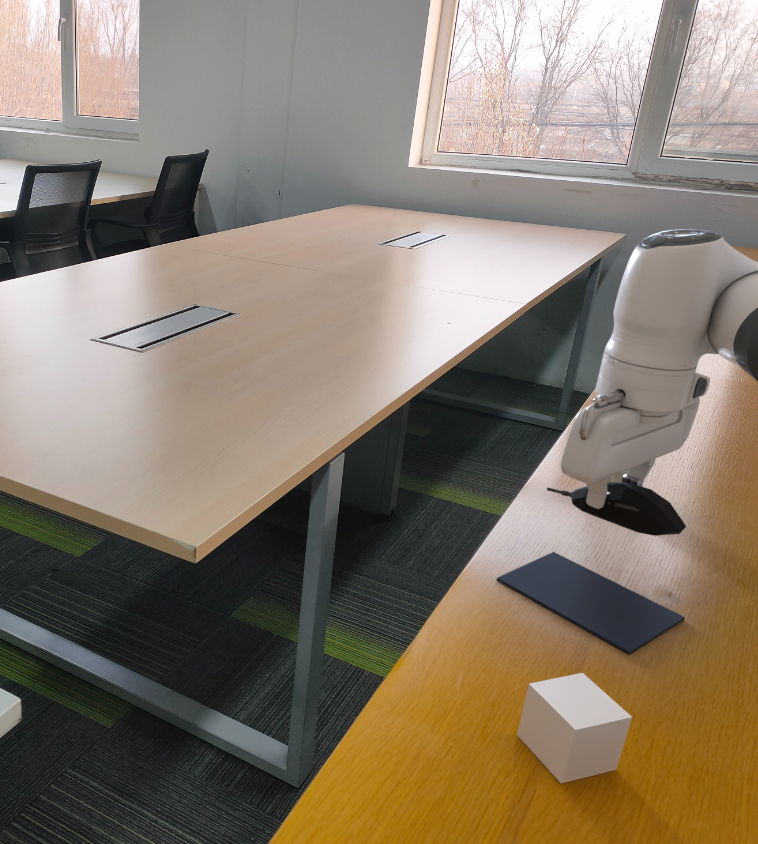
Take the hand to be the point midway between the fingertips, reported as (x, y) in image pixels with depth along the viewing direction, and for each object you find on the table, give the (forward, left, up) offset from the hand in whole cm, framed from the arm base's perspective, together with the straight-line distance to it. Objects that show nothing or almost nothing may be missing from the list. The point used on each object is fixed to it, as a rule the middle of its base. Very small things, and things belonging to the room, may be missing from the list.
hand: (613, 498), depth 91 cm
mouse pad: (0, 0, -14) cm, 14 cm away
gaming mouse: (0, 0, -2) cm, 2 cm away
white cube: (-13, +25, -14) cm, 31 cm away
